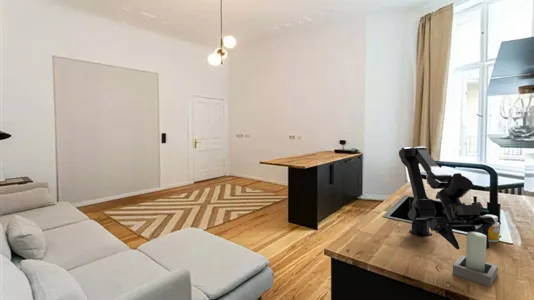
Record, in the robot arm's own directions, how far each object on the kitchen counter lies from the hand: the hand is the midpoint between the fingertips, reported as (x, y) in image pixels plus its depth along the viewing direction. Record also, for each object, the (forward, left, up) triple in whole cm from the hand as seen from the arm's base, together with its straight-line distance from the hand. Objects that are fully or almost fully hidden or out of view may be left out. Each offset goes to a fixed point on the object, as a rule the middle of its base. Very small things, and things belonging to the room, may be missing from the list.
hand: (473, 248), depth 86 cm
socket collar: (0, +1, -8) cm, 8 cm away
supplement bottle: (-31, -14, -8) cm, 35 cm away
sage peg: (0, +1, -8) cm, 8 cm away
